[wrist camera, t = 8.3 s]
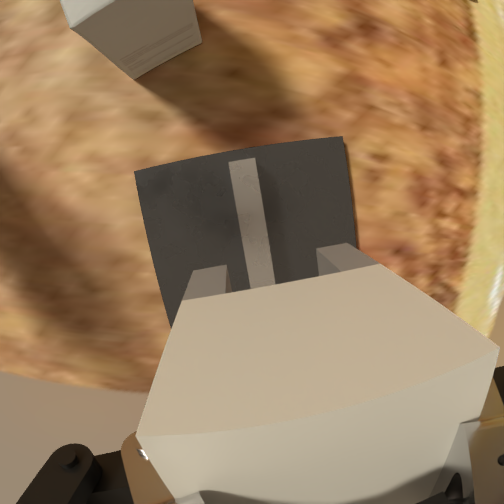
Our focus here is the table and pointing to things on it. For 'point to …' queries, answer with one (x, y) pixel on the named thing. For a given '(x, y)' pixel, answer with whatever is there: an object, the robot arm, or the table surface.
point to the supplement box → (135, 30)
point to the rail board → (213, 221)
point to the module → (313, 388)
